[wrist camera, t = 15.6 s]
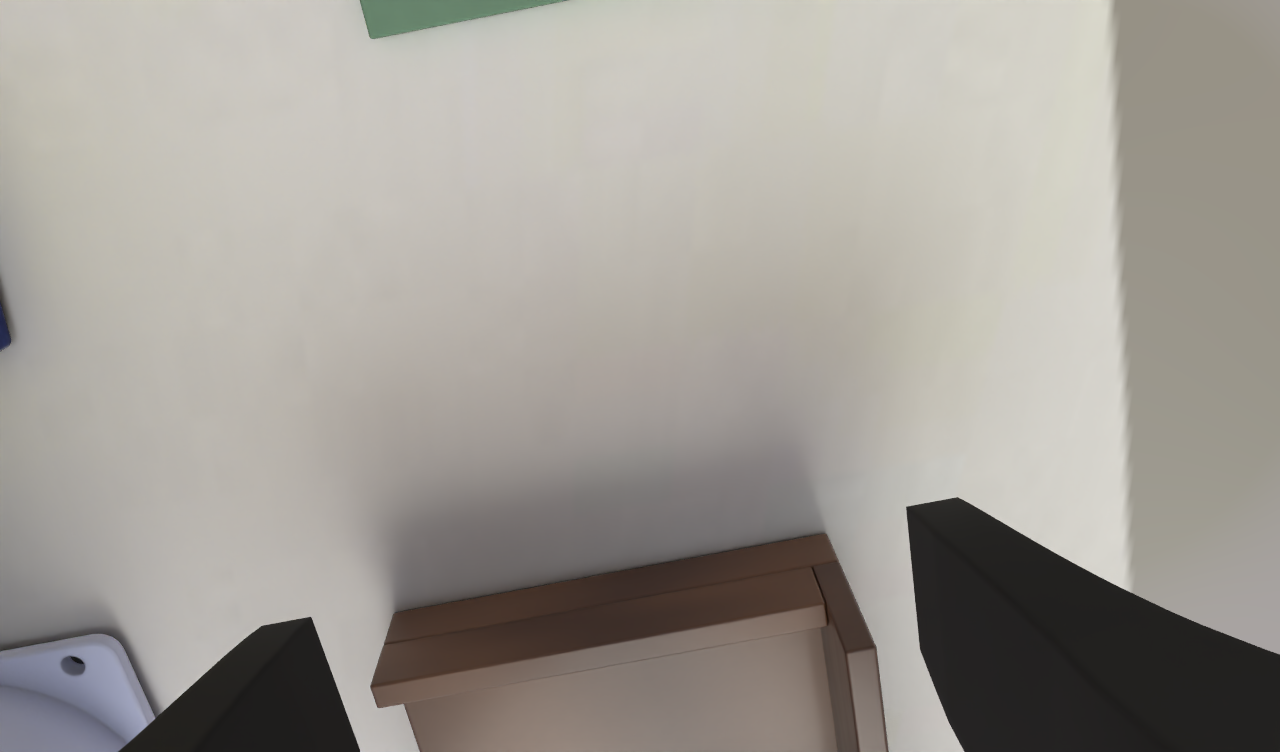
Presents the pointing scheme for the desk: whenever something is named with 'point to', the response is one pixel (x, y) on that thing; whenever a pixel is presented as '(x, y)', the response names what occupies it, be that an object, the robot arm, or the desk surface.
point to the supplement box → (3, 331)
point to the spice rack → (647, 661)
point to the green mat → (433, 13)
